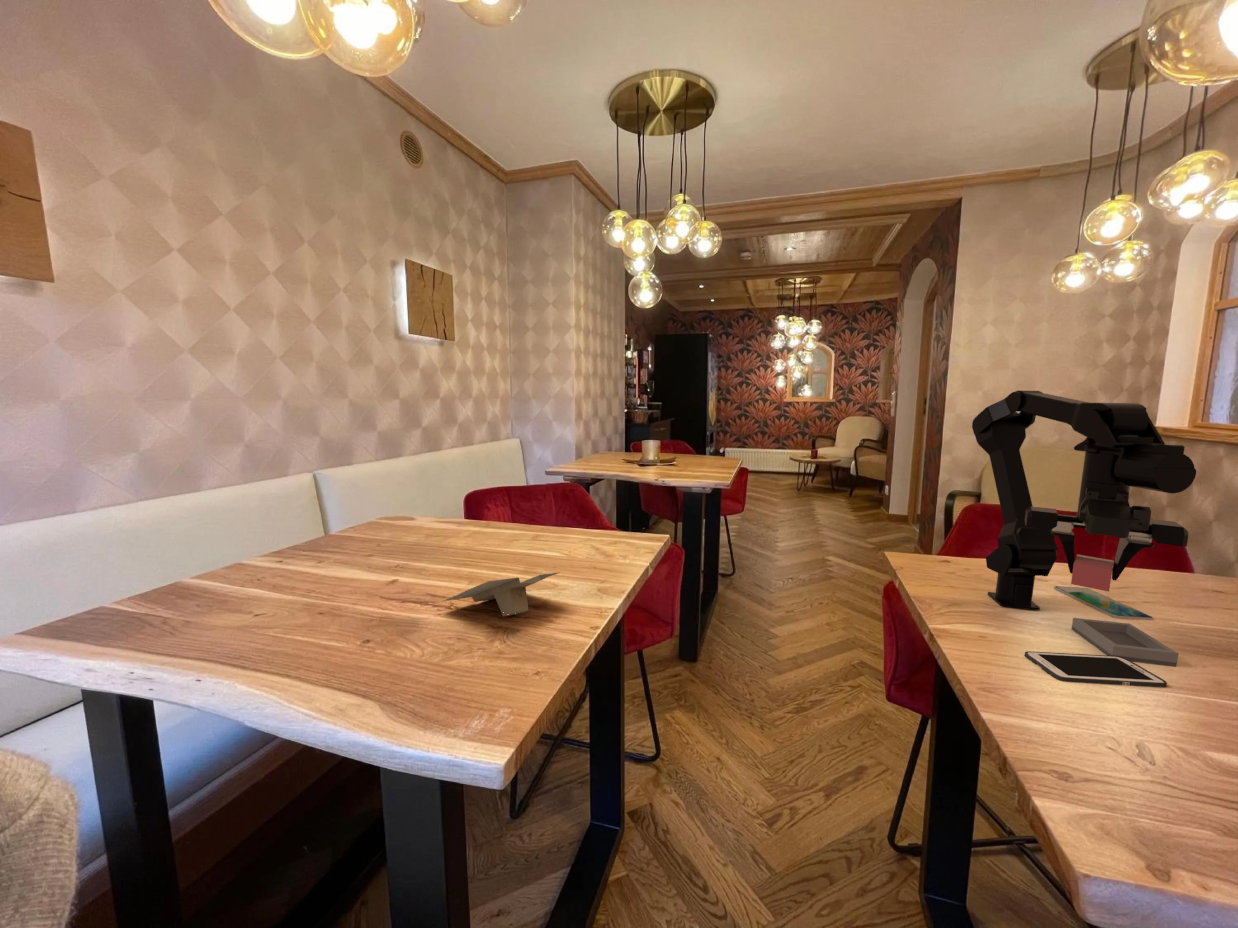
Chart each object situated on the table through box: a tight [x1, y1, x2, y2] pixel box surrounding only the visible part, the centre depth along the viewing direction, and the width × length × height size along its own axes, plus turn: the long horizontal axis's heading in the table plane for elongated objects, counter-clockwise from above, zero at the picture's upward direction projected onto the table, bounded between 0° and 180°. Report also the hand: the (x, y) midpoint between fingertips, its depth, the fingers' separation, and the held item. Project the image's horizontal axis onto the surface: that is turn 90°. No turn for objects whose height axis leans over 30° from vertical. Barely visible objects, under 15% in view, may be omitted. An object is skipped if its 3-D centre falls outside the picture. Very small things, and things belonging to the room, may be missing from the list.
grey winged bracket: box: [441, 572, 561, 617], centre depth 92 cm, size 16×9×15 cm
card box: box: [1070, 554, 1115, 593], centre depth 84 cm, size 7×4×4 cm, turn 135°
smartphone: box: [1053, 585, 1155, 621], centre depth 102 cm, size 7×1×15 cm
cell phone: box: [1024, 651, 1168, 688], centre depth 77 cm, size 8×15×1 cm, turn 85°
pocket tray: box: [1071, 617, 1179, 667], centre depth 84 cm, size 11×8×2 cm
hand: (1092, 576), depth 84 cm, fingers closed on card box, 5 cm apart
